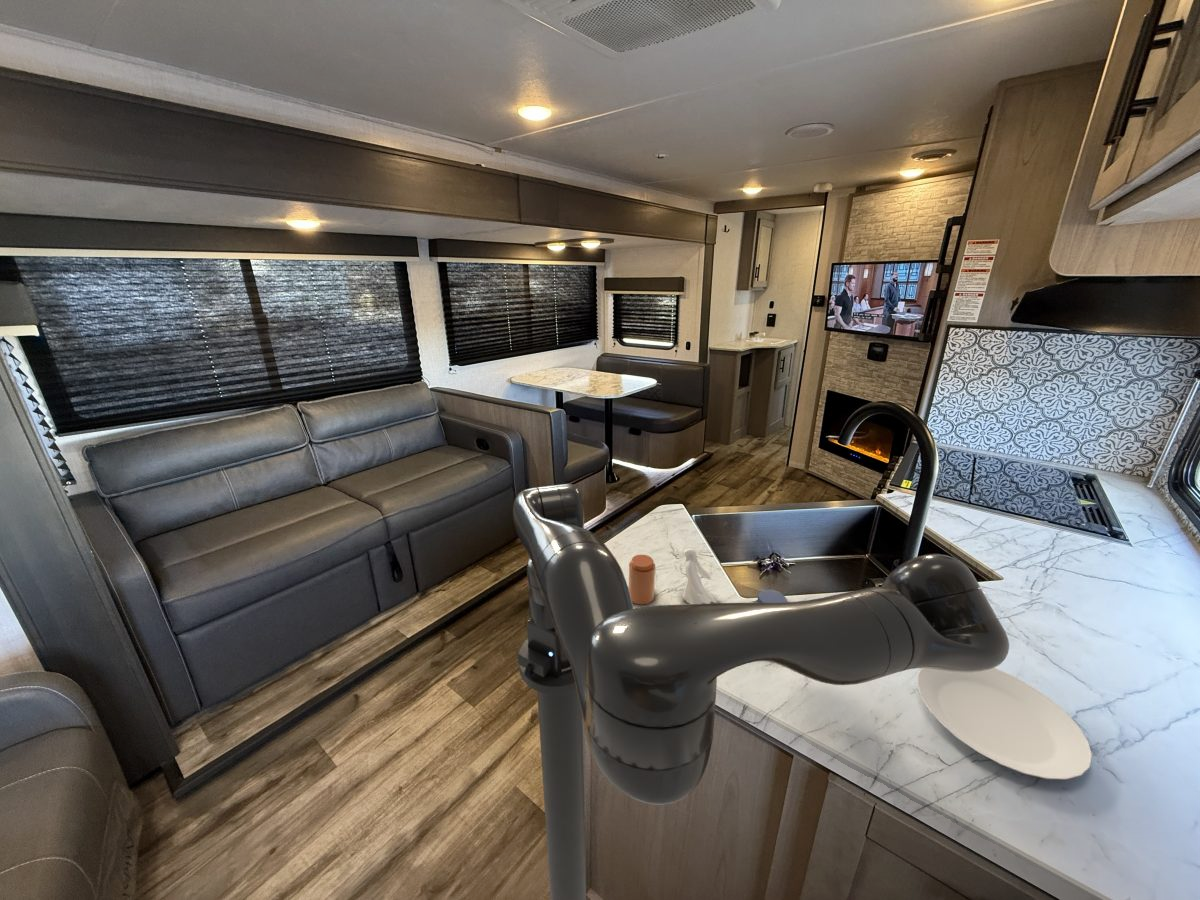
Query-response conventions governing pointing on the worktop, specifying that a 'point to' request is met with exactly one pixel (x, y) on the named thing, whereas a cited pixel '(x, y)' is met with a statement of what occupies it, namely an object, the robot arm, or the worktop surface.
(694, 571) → the figurine
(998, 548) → the worktop surface
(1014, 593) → the worktop surface
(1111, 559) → the worktop surface
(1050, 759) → the plate
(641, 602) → the jar
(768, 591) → the jar lid
